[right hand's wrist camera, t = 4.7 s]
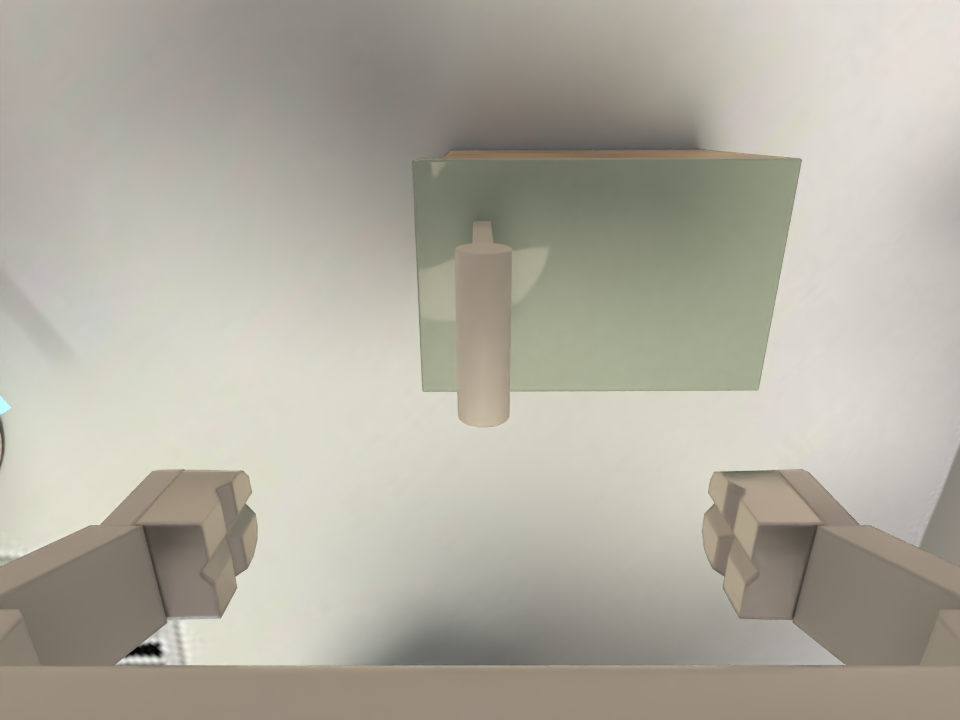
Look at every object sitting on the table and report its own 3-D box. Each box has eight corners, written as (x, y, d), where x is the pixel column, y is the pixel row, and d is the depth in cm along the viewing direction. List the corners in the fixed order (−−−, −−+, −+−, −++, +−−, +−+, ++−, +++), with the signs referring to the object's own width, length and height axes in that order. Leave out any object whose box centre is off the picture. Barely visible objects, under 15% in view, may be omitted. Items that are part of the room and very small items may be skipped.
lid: (424, 381, 27) (401, 486, 19) (415, 158, 23) (382, 173, 16) (747, 380, 27) (858, 484, 19) (787, 157, 23) (945, 171, 16)
